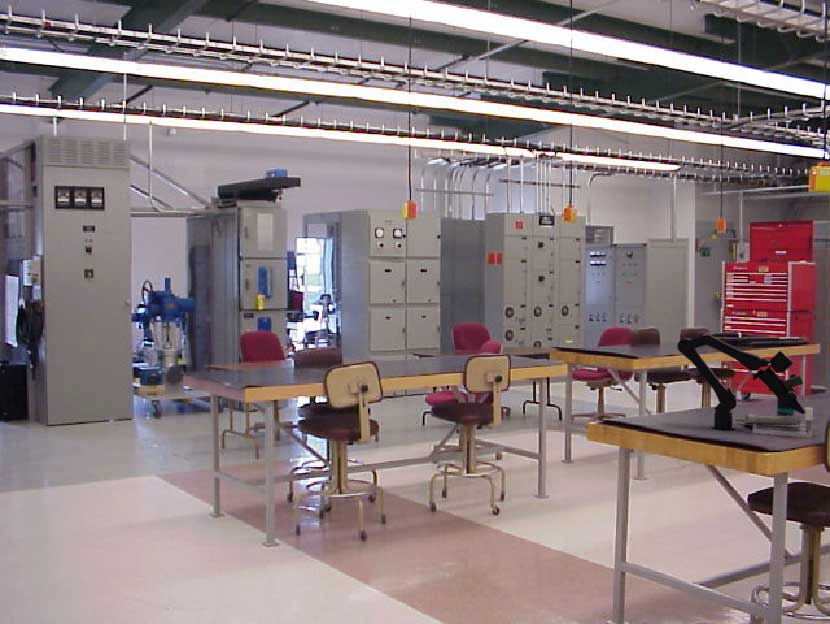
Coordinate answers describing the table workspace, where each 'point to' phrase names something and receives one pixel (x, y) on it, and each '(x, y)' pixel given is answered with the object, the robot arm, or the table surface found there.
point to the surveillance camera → (784, 410)
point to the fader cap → (808, 417)
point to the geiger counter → (769, 420)
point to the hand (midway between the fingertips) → (804, 413)
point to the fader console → (782, 431)
